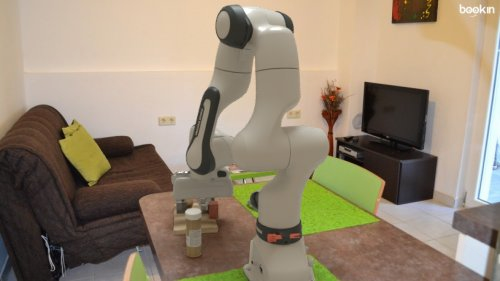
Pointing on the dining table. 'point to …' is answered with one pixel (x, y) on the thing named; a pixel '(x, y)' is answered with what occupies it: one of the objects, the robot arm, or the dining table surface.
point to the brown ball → (189, 203)
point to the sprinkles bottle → (193, 232)
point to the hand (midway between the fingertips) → (203, 209)
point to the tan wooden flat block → (180, 219)
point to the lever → (211, 208)
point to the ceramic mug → (254, 200)
